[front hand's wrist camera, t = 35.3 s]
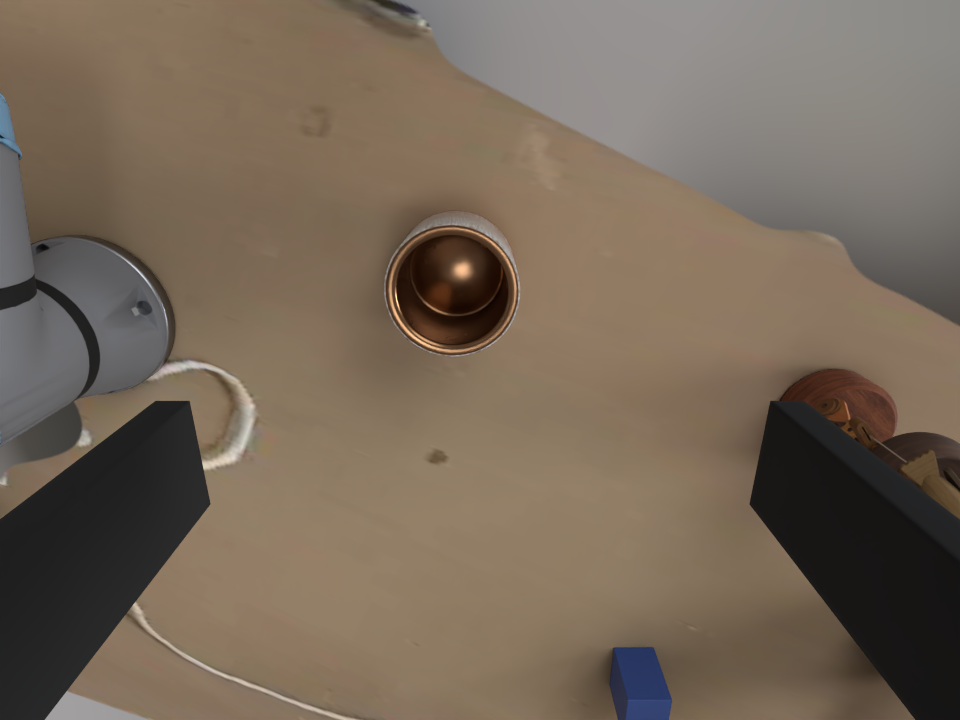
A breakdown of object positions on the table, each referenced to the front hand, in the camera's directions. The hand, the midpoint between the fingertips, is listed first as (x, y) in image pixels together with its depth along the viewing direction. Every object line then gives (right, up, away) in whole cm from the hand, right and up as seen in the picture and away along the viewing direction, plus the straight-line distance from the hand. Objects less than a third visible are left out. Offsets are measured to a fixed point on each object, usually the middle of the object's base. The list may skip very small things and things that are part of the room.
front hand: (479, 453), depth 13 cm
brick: (+19, -37, +57) cm, 71 cm away
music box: (+36, -4, +45) cm, 58 cm away
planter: (-2, +11, +39) cm, 41 cm away
